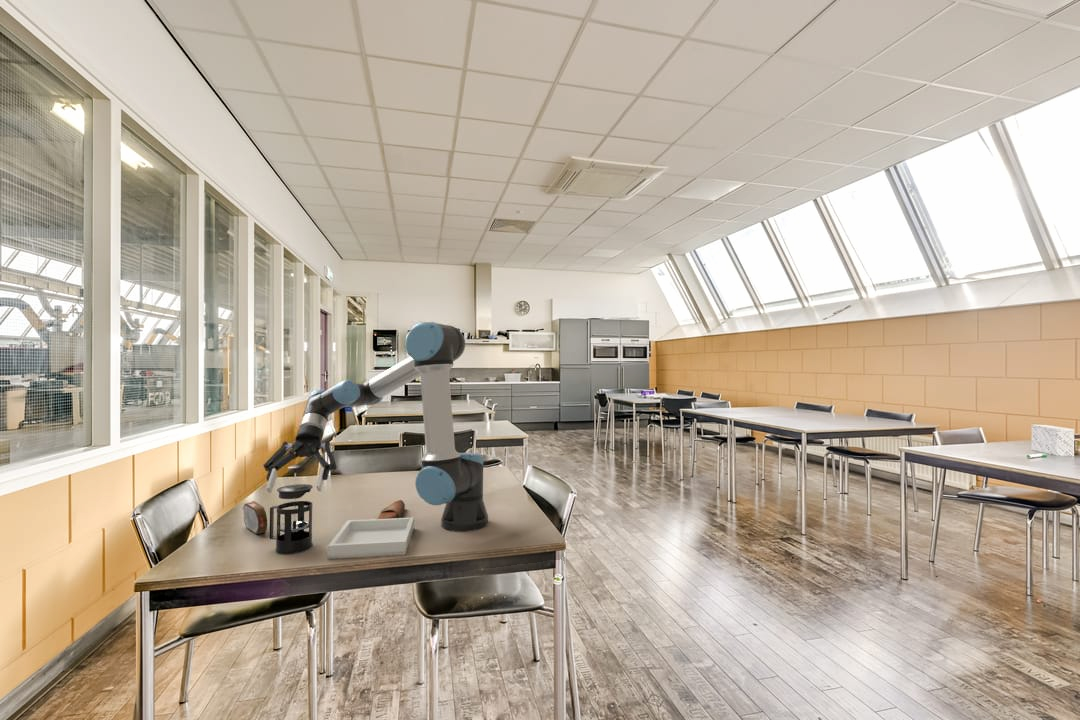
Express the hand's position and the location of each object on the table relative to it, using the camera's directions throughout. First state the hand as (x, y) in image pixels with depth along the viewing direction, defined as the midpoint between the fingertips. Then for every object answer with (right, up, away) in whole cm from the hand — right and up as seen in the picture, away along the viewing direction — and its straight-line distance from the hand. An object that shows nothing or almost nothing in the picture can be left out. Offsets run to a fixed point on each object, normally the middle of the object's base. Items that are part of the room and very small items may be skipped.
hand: (293, 489), depth 138 cm
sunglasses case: (+20, -17, +25) cm, 36 cm away
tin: (-18, -16, +11) cm, 26 cm away
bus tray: (+23, -15, 0) cm, 28 cm away
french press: (+2, -16, -4) cm, 16 cm away
